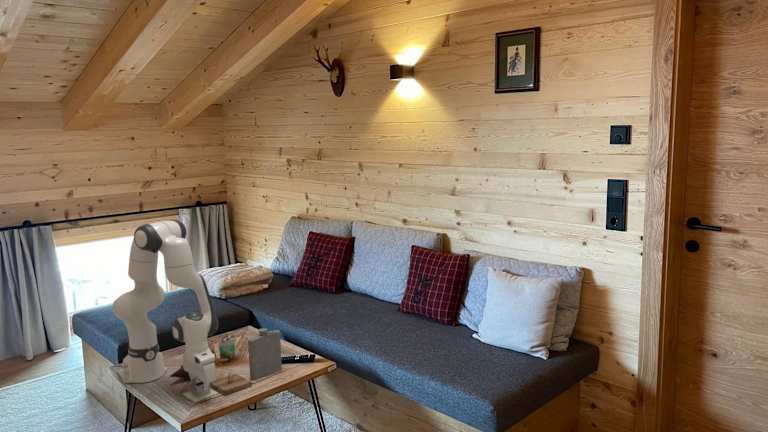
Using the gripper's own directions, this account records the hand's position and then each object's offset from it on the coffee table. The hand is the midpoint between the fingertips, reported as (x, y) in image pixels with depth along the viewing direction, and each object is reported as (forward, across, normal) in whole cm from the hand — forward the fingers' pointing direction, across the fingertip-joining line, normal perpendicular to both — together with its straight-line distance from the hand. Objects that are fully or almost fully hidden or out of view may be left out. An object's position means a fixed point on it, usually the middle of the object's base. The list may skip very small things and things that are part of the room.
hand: (199, 386), depth 241 cm
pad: (+3, 0, 0) cm, 3 cm away
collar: (+3, 0, 0) cm, 3 cm away
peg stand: (+3, +3, +12) cm, 13 cm away
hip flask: (+4, +3, +29) cm, 29 cm away
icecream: (+4, -18, +4) cm, 19 cm away
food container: (+4, -24, +28) cm, 37 cm away
